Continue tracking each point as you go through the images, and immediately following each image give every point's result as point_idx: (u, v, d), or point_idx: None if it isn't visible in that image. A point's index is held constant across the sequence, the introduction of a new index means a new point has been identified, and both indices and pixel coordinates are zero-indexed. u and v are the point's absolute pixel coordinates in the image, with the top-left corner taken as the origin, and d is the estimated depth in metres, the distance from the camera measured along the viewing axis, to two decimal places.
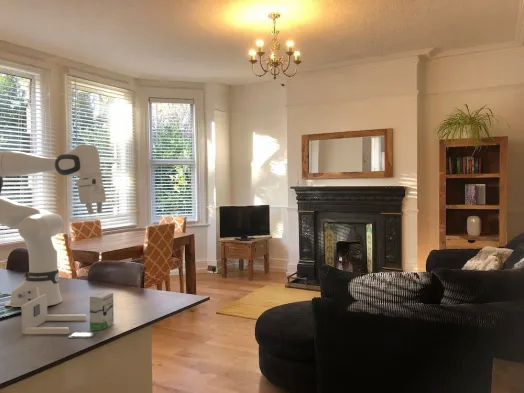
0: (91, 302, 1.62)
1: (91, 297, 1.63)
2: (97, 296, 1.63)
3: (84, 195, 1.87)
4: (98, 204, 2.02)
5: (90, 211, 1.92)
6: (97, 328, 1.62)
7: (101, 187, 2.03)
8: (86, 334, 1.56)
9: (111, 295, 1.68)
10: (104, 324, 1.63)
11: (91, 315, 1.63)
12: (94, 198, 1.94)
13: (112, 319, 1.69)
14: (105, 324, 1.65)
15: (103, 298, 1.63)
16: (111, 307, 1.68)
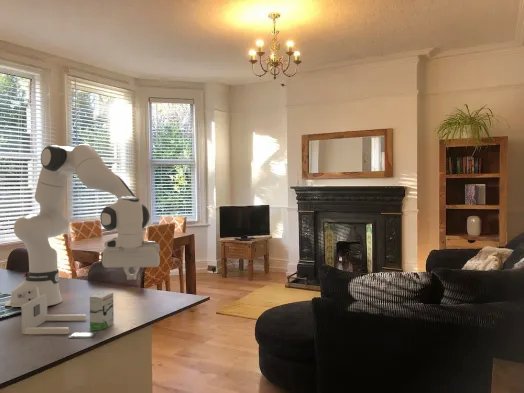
0: (91, 302, 1.62)
1: (91, 297, 1.63)
2: (97, 296, 1.63)
3: None
4: None
5: None
6: (97, 328, 1.62)
7: (145, 249, 1.63)
8: (86, 334, 1.57)
9: (111, 295, 1.68)
10: (104, 324, 1.63)
11: (91, 315, 1.63)
12: (120, 262, 1.64)
13: (112, 319, 1.69)
14: (105, 324, 1.65)
15: (103, 298, 1.63)
16: (111, 307, 1.68)
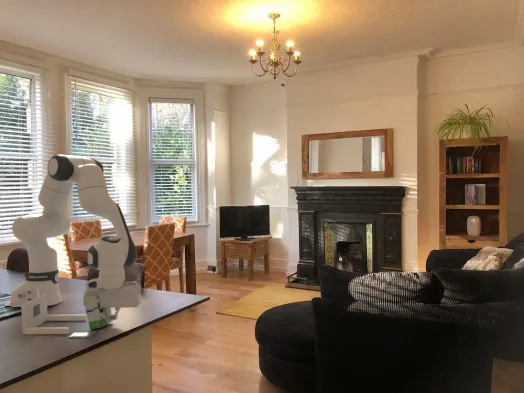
0: (85, 302, 1.63)
1: (84, 297, 1.63)
2: (90, 295, 1.64)
3: None
4: None
5: None
6: (96, 326, 1.62)
7: (126, 290, 1.64)
8: (86, 334, 1.57)
9: None
10: (102, 321, 1.64)
11: (88, 315, 1.63)
12: (101, 303, 1.65)
13: None
14: (104, 321, 1.65)
15: (96, 295, 1.64)
16: None
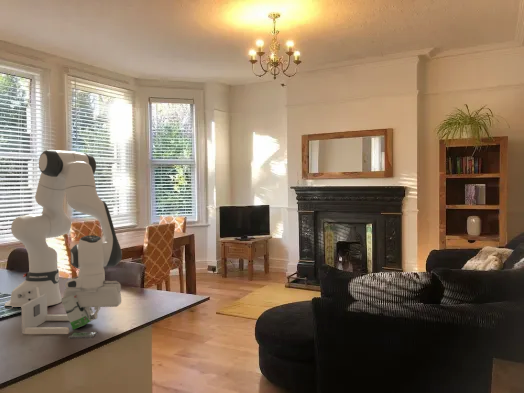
0: (64, 303, 1.63)
1: (62, 298, 1.63)
2: (68, 296, 1.64)
3: None
4: None
5: None
6: (79, 325, 1.62)
7: (106, 289, 1.64)
8: (86, 334, 1.57)
9: None
10: (84, 319, 1.64)
11: (69, 315, 1.63)
12: (81, 302, 1.65)
13: None
14: (86, 319, 1.65)
15: (74, 295, 1.64)
16: None
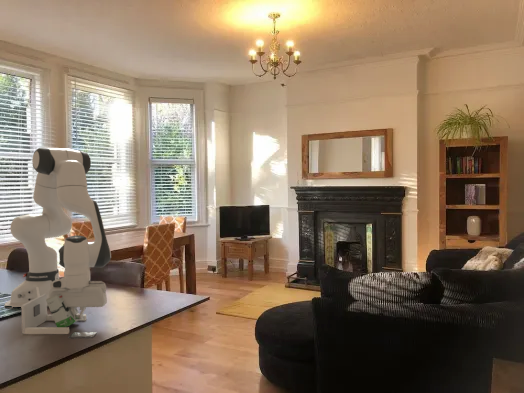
0: (49, 303, 1.63)
1: (47, 299, 1.63)
2: (53, 296, 1.64)
3: None
4: None
5: None
6: (64, 325, 1.62)
7: (91, 290, 1.64)
8: (86, 334, 1.57)
9: None
10: (70, 319, 1.64)
11: (54, 316, 1.63)
12: (66, 302, 1.65)
13: None
14: (71, 319, 1.65)
15: (59, 295, 1.64)
16: None
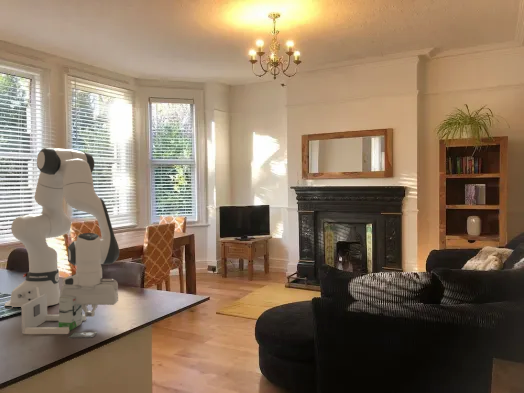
0: (61, 302, 1.62)
1: (61, 297, 1.62)
2: (67, 296, 1.63)
3: None
4: None
5: None
6: None
7: (103, 287, 1.64)
8: (86, 334, 1.57)
9: None
10: (73, 324, 1.64)
11: (60, 315, 1.62)
12: (78, 299, 1.65)
13: (81, 319, 1.69)
14: (74, 324, 1.65)
15: (73, 298, 1.63)
16: (80, 308, 1.68)
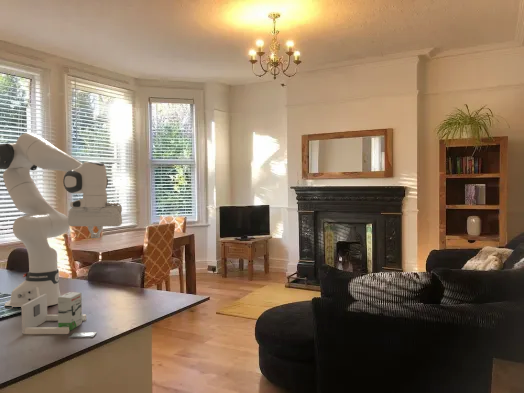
0: (59, 302, 1.62)
1: (59, 297, 1.63)
2: (65, 296, 1.63)
3: None
4: None
5: None
6: None
7: (108, 210, 1.77)
8: (86, 334, 1.57)
9: (79, 295, 1.69)
10: (72, 324, 1.64)
11: (59, 315, 1.62)
12: (84, 221, 1.77)
13: (80, 319, 1.69)
14: (74, 324, 1.65)
15: (72, 298, 1.63)
16: (79, 308, 1.68)
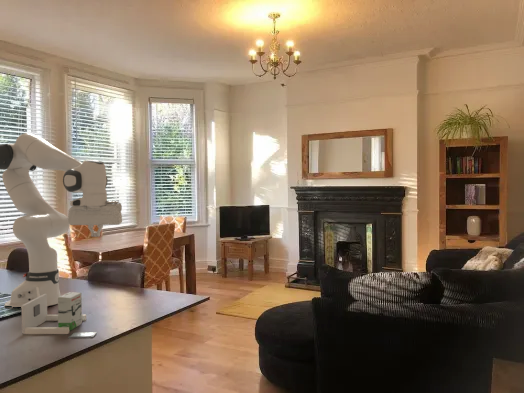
0: (59, 302, 1.62)
1: (59, 297, 1.62)
2: (65, 296, 1.63)
3: None
4: None
5: None
6: None
7: (108, 208, 1.77)
8: (86, 334, 1.57)
9: (79, 295, 1.69)
10: (72, 324, 1.64)
11: (59, 315, 1.62)
12: (84, 220, 1.78)
13: (80, 319, 1.69)
14: (74, 324, 1.65)
15: (72, 298, 1.63)
16: (79, 308, 1.68)
